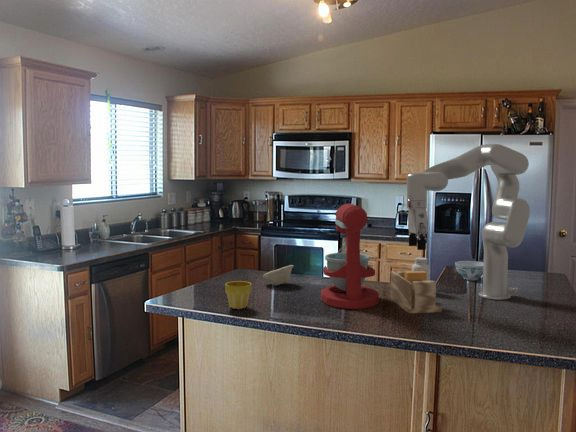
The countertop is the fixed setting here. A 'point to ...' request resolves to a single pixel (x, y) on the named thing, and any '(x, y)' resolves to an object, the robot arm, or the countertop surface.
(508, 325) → the countertop surface
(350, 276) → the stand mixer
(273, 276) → the bowl
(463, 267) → the chinaware
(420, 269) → the pill bottle
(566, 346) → the countertop surface
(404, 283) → the wooden vise
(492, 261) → the robot arm
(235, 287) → the plant pot
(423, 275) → the upright wooden block
